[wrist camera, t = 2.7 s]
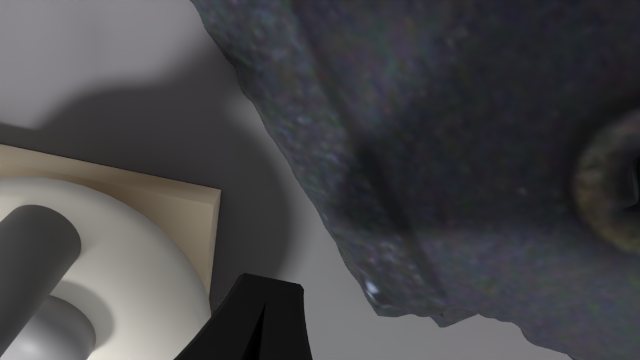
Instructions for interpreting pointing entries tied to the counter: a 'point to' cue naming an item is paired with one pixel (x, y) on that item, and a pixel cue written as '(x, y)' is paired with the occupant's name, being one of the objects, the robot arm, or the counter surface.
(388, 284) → the folded black cloth
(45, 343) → the wheel
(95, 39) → the counter surface
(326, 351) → the counter surface
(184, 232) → the wheel pedestal
